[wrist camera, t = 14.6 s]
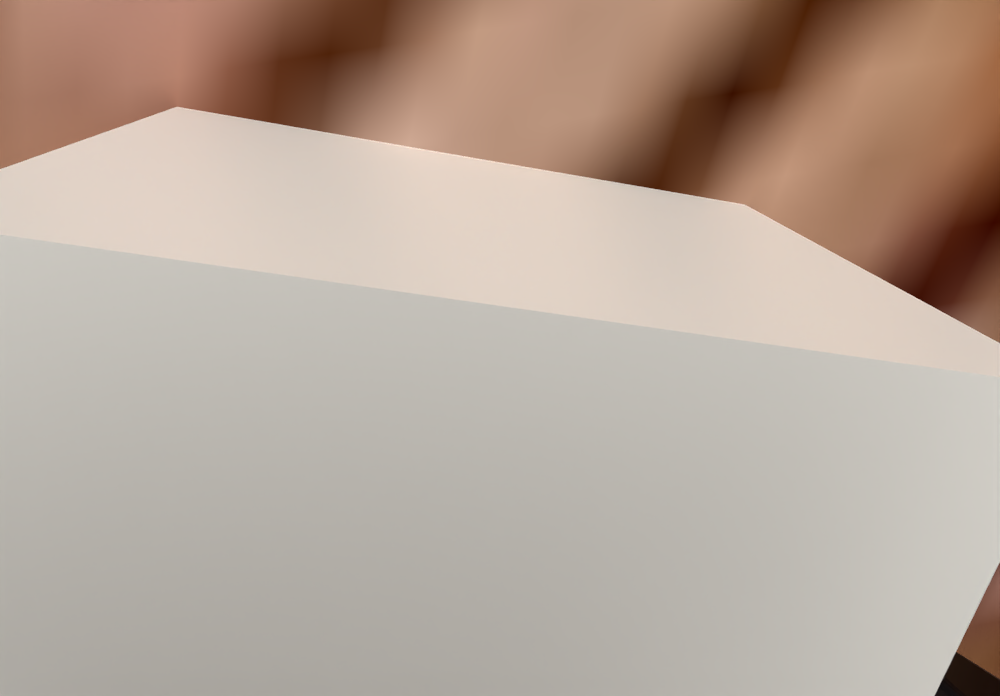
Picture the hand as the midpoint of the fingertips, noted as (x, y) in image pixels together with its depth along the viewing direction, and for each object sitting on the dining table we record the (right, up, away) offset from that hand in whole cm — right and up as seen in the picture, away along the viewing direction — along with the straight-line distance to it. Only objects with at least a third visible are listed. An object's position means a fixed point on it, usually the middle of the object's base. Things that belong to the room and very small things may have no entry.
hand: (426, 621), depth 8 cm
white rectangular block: (0, +1, +2) cm, 2 cm away
